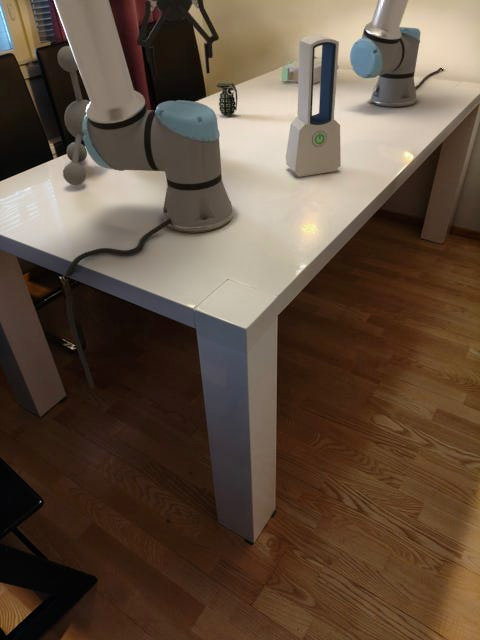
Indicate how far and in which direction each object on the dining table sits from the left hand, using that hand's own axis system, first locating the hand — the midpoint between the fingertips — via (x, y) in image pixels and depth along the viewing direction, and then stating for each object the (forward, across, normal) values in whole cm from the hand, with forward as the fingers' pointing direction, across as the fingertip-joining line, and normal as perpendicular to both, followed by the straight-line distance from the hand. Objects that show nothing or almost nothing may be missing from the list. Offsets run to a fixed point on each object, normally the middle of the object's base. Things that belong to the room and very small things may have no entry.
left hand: (181, 74), depth 126 cm
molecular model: (+22, +24, +4) cm, 32 cm away
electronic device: (+22, -31, +18) cm, 42 cm away
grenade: (+20, -15, -38) cm, 46 cm away
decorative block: (+19, -54, -84) cm, 102 cm away
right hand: (-21, -43, -59) cm, 76 cm away
